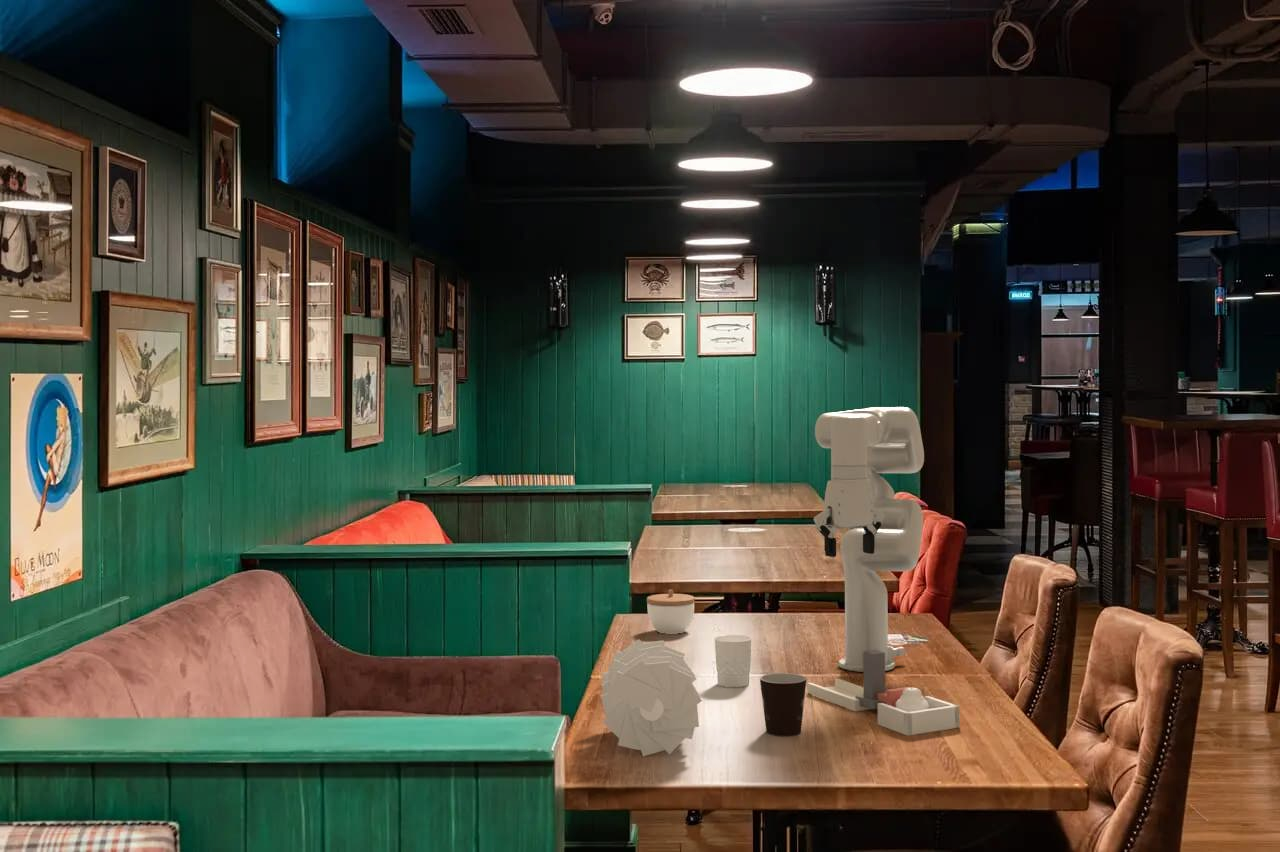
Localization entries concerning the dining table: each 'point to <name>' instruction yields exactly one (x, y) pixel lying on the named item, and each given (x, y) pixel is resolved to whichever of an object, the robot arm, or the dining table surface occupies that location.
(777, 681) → the coffee mug
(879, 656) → the block
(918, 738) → the dining table surface
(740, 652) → the white cup
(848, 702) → the track
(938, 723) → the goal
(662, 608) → the lidded bowl
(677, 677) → the spiral staircase
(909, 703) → the white ribbed dome
